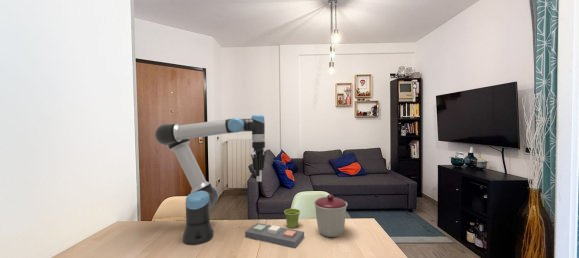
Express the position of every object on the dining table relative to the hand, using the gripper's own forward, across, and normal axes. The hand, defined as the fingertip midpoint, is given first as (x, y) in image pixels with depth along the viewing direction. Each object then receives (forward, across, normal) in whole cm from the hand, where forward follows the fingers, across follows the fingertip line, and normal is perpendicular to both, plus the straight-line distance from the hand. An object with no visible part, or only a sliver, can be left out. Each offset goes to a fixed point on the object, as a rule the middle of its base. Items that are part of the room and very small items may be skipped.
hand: (259, 181), depth 140 cm
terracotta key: (+25, -9, -24) cm, 36 cm away
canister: (+27, +7, -41) cm, 49 cm away
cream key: (+24, -9, -15) cm, 30 cm away
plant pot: (+27, +7, -18) cm, 33 cm away
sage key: (+25, -9, -6) cm, 28 cm away
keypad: (+26, -10, -15) cm, 32 cm away
